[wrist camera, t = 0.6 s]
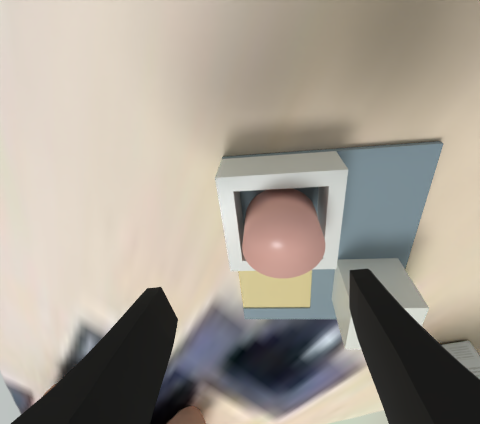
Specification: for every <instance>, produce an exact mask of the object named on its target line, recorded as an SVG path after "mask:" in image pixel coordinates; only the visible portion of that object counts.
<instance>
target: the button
mask: <svg viewBox="0 0 480 424" xmlns="http://www.w3.org/2000/svg"><path fill="white" fill-rule="evenodd" d="M242 251H243V255H244V257H245V259H246V261H247V263H248V264H249V265H250V266H251V267H252V268H253V269H254V270H256V271H257V272H259V273H261V274H263V275H266V276H269V277H273V278H293V277H297V276H300V275H303V274H305V273H307V272H309V271H311V270H312V269H313V268H315V267H316V266H317V265H318V264H319V262H320V261H321V260H322V258H323V256H324V253H325V239H324V236H323V233H322V229H321V226H320V223H319V220H318V216H317V213H316V210H315V207H314V205H313V203H312V201H311V200H310V199H309V198H308V197H307V196H306V195H305V194H304V193H302V192H300V191H298V190H296V189H292V188H288V189H270V190H265V191H263V192H261V193H260V194H258V195H257V196H256V197H255V198H253V200H252V201H251V202H250V204H249V205H248V207H247V210H246V216H245V225H244V235H243V245H242Z"/></svg>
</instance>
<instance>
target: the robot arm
mask: <svg viewBox="0 0 480 424" xmlns="http://www.w3.org/2000/svg"><path fill="white" fill-rule="evenodd" d="M349 309H350V312H351V316H352V320H353V324H354V328H355V332H356V335H357V338H358V341H359V344H360V347H361V349H362V352H363V355H364V357H365V360H366V363H367V365H368V368H369V371H370V373H371V376H372V378H373V381H374V384H375V386H376V389H377V392H378V394H379V397H380V400H381V402H382V405H383V408H384V411H385V414H386V417H387V419H388V423H389V424H480V379H479V378H478V377H476V376H475V375H474V374H473V373H472V372H471V371H469V370H468V369H467V368H466V367H465V366H464V365H462V364H461V363H460V362H459V361H458V360H457V359H456V358H455V357H453V356H452V355H451V354H450V353H449V352H448V351H447V350H446V349H445V348H444V347H443V346H442V345H440V344H439V343H438V342H437V341H436V340H435V339H434V338H433V337H432V336H431V335H430V334H429V333H428V332H427V331H426V330H425V329H424V328H423V327H422V326H421V325H420V324H419V323H418V322H417V321H416V320H415V319H414V318H413V317H412V316H411V315H410V314H409V313H408V312H407V311H406V310H405V309H404V308H403V307H402V306H401V305H400V304H399V302H398V301H397V300H396V299H395V298H394V297H393V296H392V295H391V294H390V293H389V291H388V290H387V289H386V288H385V287H384V286H383V285H382V283H381V282H380V281H379V280H378V279H377V277H376V276H375V275H374V274H373V272H372V271H371V270H369V269H357V270H350V289H349ZM177 322H178V319H177V317H176V315H175V313H174V311H173V309H172V307H171V305H170V303H169V301H168V299H167V297H166V295H165V293H164V292H163V290H162V288H161V287H157V288H147V289H146V290H145V291H144V293H143V294H142V295H141V296H140V297H139V298H138V299H137V300H136V301H135V303H134V304H133V305H132V306H131V307H130V308H129V309H128V310H127V312H126V313H125V314H124V315H123V316H122V317H121V318H120V319H119V321H118V322H117V323H116V324H115V325H114V326H113V327H112V328H111V330H110V331H109V332H108V333H107V334H106V335H105V336H104V337H103V338H102V339H101V340H100V341H99V342H98V344H97V345H96V346H95V347H94V348H93V349H92V350H91V351H90V352H89V353H88V354H87V355H86V356H85V357H84V358H83V359H82V360H81V361H80V362H79V363H78V364H77V365H76V366H75V367H74V368H73V369H72V370H71V371H70V372H69V373H68V374H67V375H66V376H65V377H64V378H63V379H62V380H61V381H59V382H58V383H57V384H56V385H55V386H54V387H53V388H52V389H51V390H50V391H49V392H47V393H46V394H45V395H44V396H43V397H42V398H41V399H39V400H38V401H37V402H36V403H35V404H34V405H32V406H31V407H30V408H29V409H28V410H26V411H25V412H24V413H23V414H22V415H20V416H19V417H18V418H17V419H16V420H15V421H13V422H12V423H11V424H150V422H151V418H152V414H153V411H154V407H155V404H156V401H157V397H158V394H159V391H160V388H161V384H162V381H163V378H164V375H165V371H166V368H167V365H168V362H169V358H170V355H171V352H172V348H173V344H174V339H175V334H176V328H177Z"/></svg>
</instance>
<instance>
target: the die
mask: <svg viewBox="0 0 480 424" xmlns="http://www.w3.org/2000/svg"><path fill="white" fill-rule="evenodd" d="M357 269H369V270H371V271H372V272H373V274H374V275H375V276H376V277H377V279H378V280H379V281H380V282H381V283H382V285H383V286H384V287H385V288H386V289H387V290H388V291H389V293H390V294H391V295H392V296H393V297H394V298H395V299H396V300H397V301H398V302H399V304H400V305H401V306H402V307H403V308H404V309H405V310H406V311H407V312H408V313H409V314H410V315H411V316H412V317H413V318H414V319H415V320H416V321H417V322H418V323H419V324H420V325H421V326H422V324H423V322H424V319H425V317H426V314H427V312H428V310H429V307H428V305H427V304H426V302H425V301H424V299H423V297H422V296H421V294H420V293H419V291H418V289H417V288H416V286H415V285H414V283H413V281H412V280H411V278H410V277H409V275H408V273H407V272H406V270H405V269H404V267H403V265H402V264H401V262H400V261H399V259H398V258H380V259H339V260H337V268H336V269H335V274H334V282H333V291H332V302H333V306H334V310H335V314H336V317H337V321H338V325H339V329H340V333H341V336H342V340H343V344H344V348H345V349H356V350H362V349H361V347H360V344H359V341H358V338H357V335H356V332H355V328H354V324H353V320H352V316H351V312H350V309H349V289H350V270H357Z"/></svg>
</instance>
